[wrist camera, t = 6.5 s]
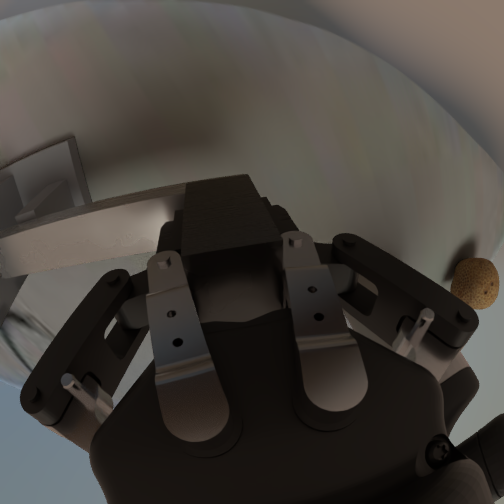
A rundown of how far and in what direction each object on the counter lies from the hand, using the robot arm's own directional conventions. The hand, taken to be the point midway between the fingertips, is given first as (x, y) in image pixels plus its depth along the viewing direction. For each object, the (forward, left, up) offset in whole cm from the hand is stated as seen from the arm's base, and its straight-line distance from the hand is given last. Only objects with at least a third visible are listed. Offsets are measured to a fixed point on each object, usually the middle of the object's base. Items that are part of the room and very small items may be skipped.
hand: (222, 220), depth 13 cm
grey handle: (+8, 0, -2) cm, 8 cm away
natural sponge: (-39, +19, -10) cm, 44 cm away
